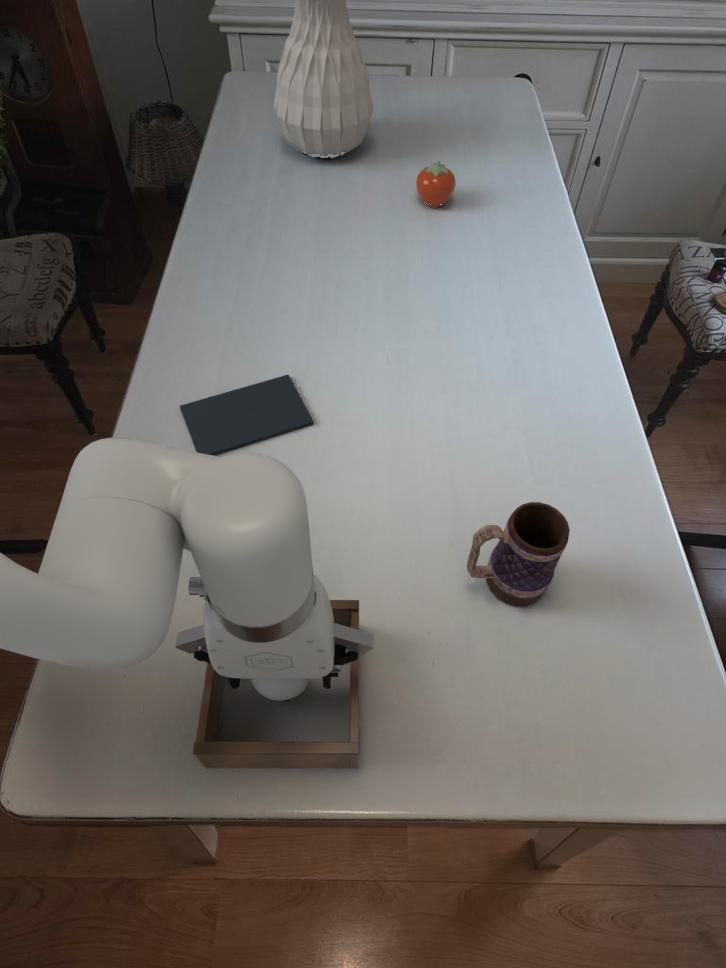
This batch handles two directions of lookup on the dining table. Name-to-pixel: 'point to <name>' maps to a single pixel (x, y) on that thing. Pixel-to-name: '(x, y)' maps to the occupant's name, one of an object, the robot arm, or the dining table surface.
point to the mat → (245, 416)
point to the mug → (521, 553)
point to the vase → (322, 81)
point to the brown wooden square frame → (278, 752)
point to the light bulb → (280, 688)
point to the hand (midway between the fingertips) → (282, 673)
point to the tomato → (435, 184)
